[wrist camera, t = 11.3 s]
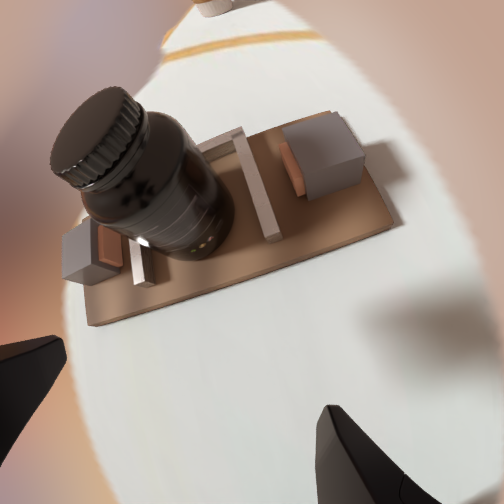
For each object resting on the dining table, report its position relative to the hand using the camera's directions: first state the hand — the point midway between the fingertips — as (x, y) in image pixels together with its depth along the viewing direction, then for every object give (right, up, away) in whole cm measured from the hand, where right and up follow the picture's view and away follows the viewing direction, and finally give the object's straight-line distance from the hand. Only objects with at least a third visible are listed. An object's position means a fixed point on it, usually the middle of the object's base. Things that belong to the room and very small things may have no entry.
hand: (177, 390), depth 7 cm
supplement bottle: (-2, +6, +13) cm, 15 cm away
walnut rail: (-2, +6, +14) cm, 16 cm away
